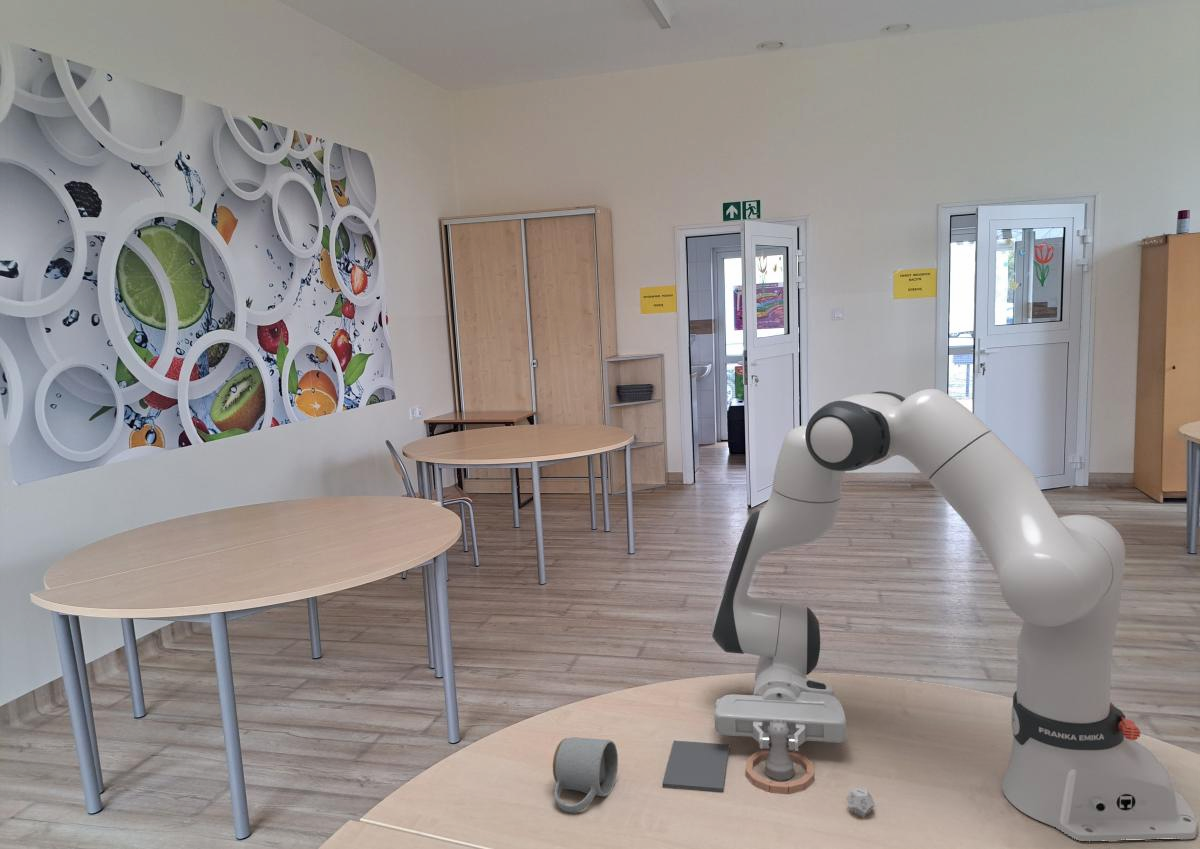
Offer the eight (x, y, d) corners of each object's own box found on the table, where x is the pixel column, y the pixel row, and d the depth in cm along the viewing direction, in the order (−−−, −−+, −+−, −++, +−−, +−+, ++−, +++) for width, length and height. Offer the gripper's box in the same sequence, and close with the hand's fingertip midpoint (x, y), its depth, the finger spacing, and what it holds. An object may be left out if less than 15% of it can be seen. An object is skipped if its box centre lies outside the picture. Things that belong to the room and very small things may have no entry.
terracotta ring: (812, 757, 125) (812, 751, 125) (814, 795, 115) (814, 789, 115) (747, 752, 127) (747, 746, 127) (744, 789, 117) (744, 783, 117)
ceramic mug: (571, 769, 126) (567, 723, 124) (620, 777, 123) (617, 731, 121) (542, 810, 116) (538, 761, 115) (594, 820, 113) (590, 771, 112)
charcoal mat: (729, 747, 129) (729, 744, 129) (723, 792, 117) (723, 788, 117) (673, 743, 131) (673, 740, 131) (662, 787, 119) (662, 783, 119)
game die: (864, 823, 109) (864, 803, 108) (841, 810, 112) (841, 790, 111) (879, 813, 111) (879, 793, 110) (857, 800, 114) (856, 781, 113)
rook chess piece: (790, 763, 123) (788, 715, 122) (798, 780, 119) (797, 730, 118) (761, 765, 123) (759, 717, 122) (768, 782, 119) (767, 732, 118)
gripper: (716, 679, 135) (708, 721, 122) (842, 685, 130) (848, 730, 117) (717, 714, 136) (709, 759, 122) (843, 722, 131) (849, 770, 118)
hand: (778, 745), depth 119 cm, fingers closed on rook chess piece, 3 cm apart
